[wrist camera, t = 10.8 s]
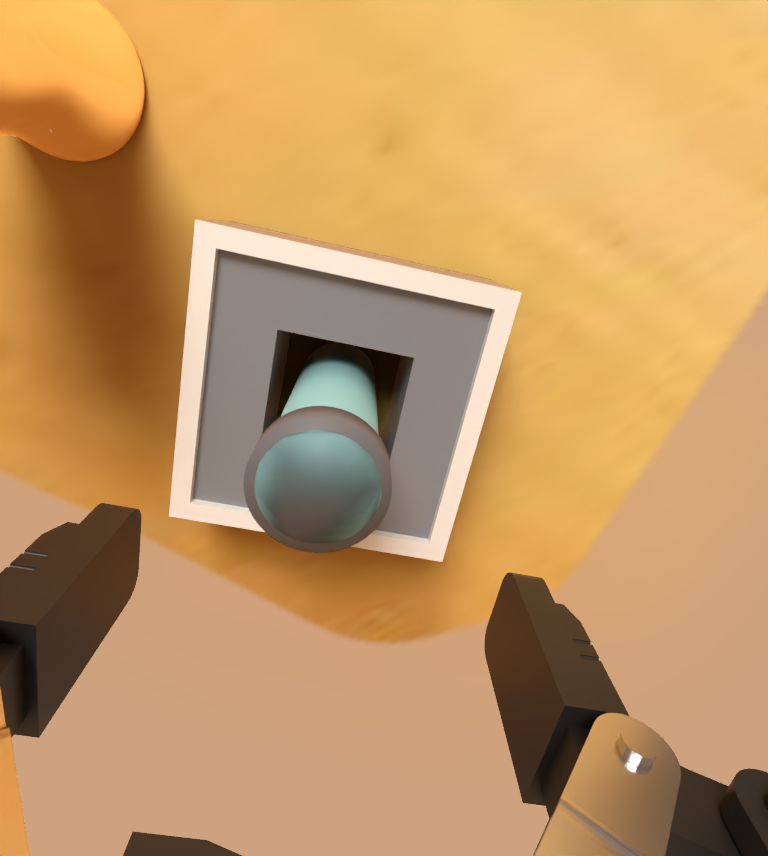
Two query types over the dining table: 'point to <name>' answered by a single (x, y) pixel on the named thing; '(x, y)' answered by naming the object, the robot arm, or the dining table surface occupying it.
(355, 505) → the plug
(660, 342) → the dining table surface
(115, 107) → the tumbler
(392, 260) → the socket block
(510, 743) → the robot arm
